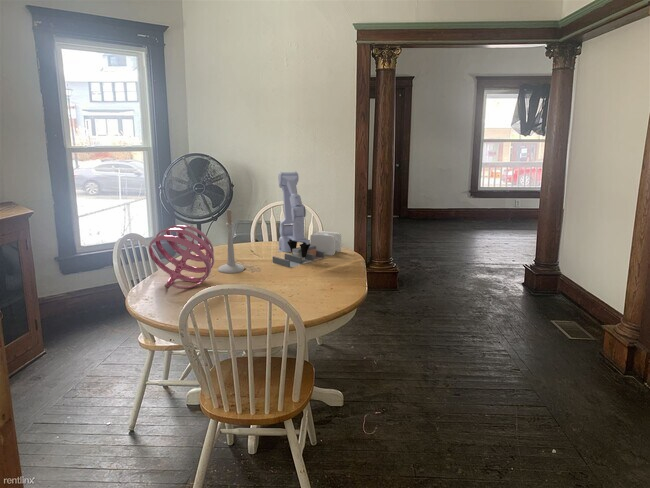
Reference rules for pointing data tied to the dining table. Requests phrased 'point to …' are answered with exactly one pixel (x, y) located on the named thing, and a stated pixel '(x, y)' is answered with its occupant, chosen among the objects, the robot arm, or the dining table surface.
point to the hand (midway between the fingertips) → (298, 255)
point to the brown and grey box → (312, 250)
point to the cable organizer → (326, 242)
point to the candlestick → (230, 251)
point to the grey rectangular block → (297, 252)
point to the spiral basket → (184, 254)
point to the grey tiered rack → (297, 259)
